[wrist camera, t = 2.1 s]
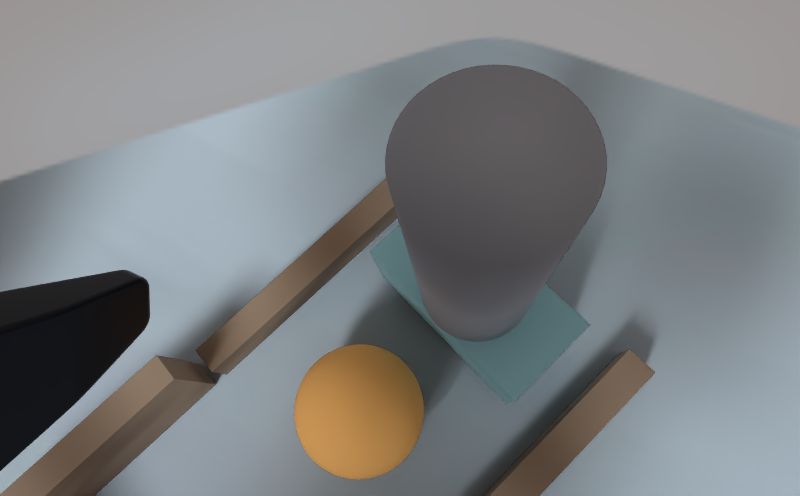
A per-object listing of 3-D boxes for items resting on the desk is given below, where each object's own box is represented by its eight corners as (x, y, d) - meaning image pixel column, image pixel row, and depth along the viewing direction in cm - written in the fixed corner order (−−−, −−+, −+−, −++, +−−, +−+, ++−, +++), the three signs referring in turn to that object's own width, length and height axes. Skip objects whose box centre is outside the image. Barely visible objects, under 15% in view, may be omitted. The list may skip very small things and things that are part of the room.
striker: (503, 405, 18) (577, 389, 7) (381, 279, 19) (284, 104, 9) (570, 337, 18) (739, 221, 7) (445, 220, 20) (429, -18, 9)
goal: (176, 868, 15) (113, 971, 13) (-4, 548, 19) (-87, 572, 16) (642, 375, 18) (677, 367, 15) (416, 167, 21) (410, 128, 18)
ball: (365, 499, 18) (340, 522, 14) (290, 407, 19) (248, 405, 15) (452, 412, 18) (450, 412, 15) (373, 328, 19) (353, 307, 16)
